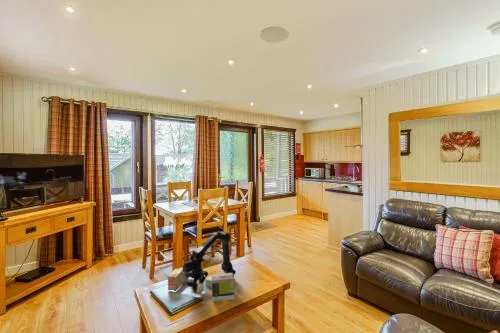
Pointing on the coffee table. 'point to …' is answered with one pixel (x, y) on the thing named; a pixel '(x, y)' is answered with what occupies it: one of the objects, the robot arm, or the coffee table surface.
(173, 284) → the printed cardboard box
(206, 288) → the grey flat sheet
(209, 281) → the sage cube
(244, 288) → the coffee table surface
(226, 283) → the tea box
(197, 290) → the maple block
